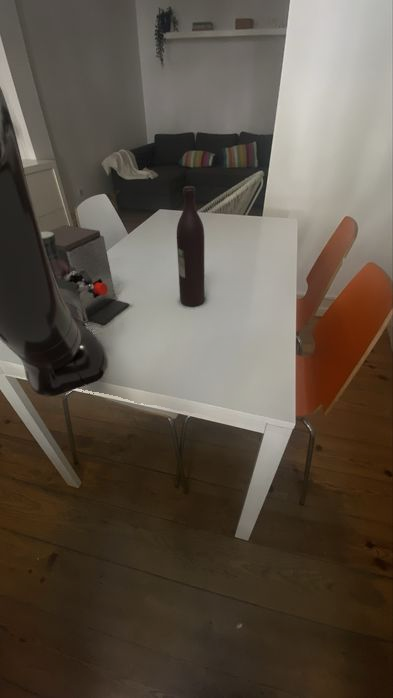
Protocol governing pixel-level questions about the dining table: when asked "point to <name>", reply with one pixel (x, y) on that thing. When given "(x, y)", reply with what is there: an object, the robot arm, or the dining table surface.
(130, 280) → the dining table surface
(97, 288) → the power button
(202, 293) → the wine bottle
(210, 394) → the dining table surface
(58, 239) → the coffee maker
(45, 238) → the sauce bottle
